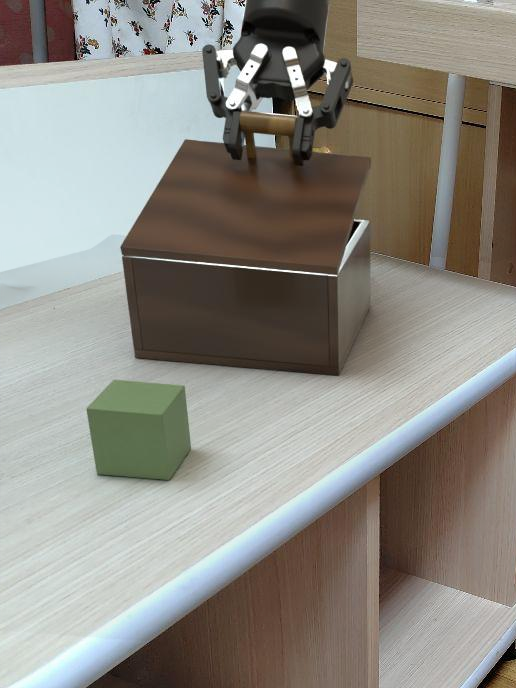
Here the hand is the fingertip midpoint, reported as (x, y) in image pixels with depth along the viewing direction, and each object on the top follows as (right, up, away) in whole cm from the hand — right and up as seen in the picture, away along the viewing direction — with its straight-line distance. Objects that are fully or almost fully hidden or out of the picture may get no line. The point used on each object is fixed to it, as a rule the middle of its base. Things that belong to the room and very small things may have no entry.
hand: (265, 157), depth 90 cm
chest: (-1, -15, +4) cm, 15 cm away
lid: (0, -5, -2) cm, 5 cm away
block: (-3, -29, -20) cm, 35 cm away
